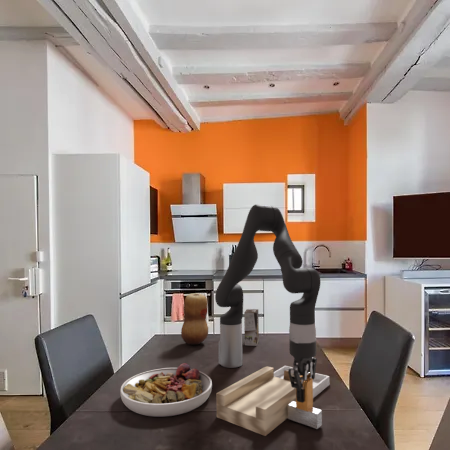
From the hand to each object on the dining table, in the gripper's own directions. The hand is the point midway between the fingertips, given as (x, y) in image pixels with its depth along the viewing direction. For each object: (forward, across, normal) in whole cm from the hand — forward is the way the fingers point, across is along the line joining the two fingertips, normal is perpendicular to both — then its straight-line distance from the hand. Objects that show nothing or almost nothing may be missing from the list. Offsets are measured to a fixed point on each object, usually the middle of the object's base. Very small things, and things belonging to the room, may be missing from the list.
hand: (303, 398), depth 103 cm
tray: (+7, -23, -14) cm, 28 cm away
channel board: (+7, -2, -14) cm, 16 cm away
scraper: (+6, 0, 0) cm, 6 cm away
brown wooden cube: (+5, -18, -14) cm, 23 cm away
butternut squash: (+7, -38, -78) cm, 87 cm away
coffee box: (+7, -56, -56) cm, 79 cm away
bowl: (+8, +12, -44) cm, 46 cm away
